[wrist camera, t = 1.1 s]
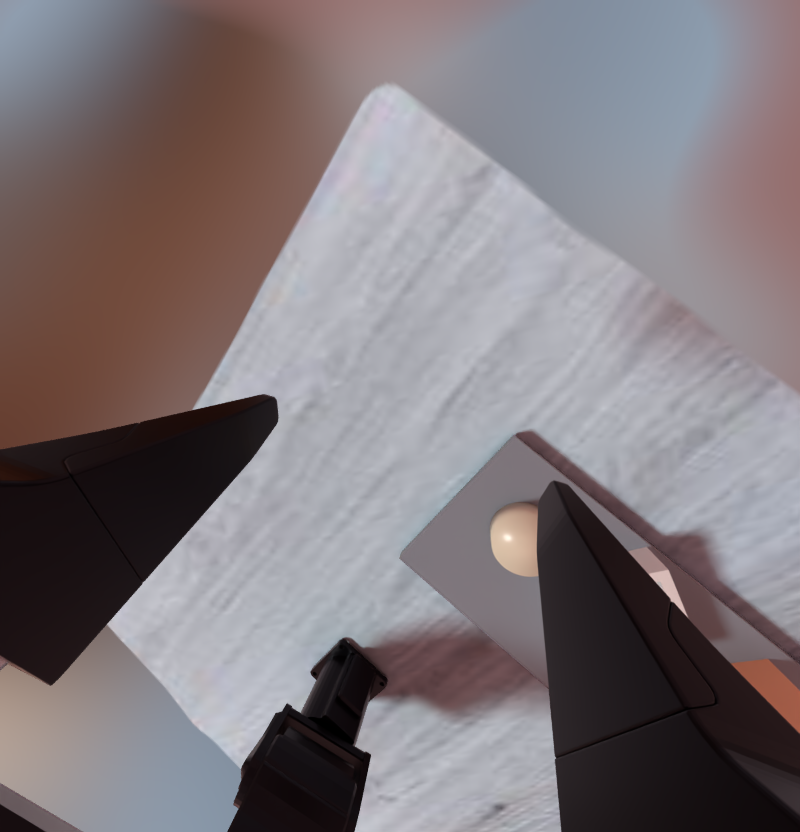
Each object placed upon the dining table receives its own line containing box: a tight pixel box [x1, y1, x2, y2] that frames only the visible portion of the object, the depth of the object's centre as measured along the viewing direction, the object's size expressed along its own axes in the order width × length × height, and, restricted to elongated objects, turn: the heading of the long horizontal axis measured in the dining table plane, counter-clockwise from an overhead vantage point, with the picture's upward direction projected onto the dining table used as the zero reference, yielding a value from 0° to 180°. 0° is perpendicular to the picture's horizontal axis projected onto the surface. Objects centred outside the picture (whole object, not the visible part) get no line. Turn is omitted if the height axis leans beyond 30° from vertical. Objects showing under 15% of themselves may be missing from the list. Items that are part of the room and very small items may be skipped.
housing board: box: [399, 435, 800, 690], centre depth 23 cm, size 15×28×4 cm, turn 52°
